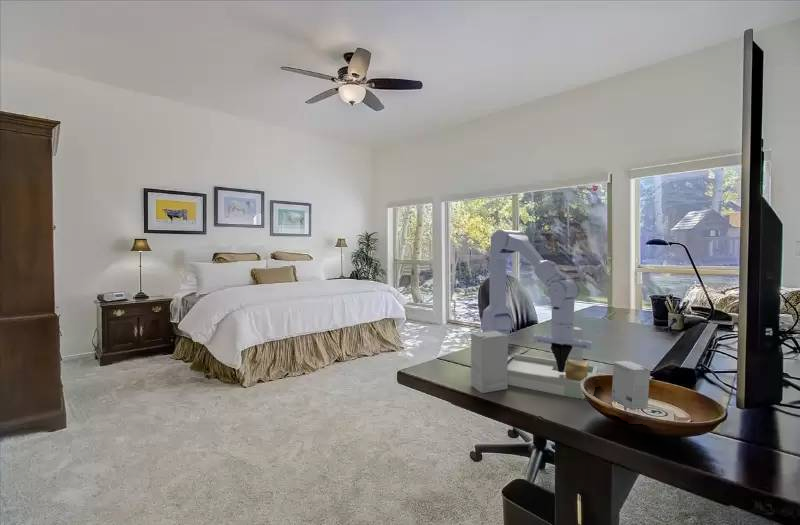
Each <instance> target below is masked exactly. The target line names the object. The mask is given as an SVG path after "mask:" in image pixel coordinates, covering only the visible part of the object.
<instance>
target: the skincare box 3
mask: <svg viewBox="0 0 800 525" xmlns="http://www.w3.org/2000/svg"><path fill="white" fill-rule="evenodd" d="M650 376H651V369H650V368H647V367H645V366H643V365H640V364H638V363H635V362H633V361H630V360H622V361H621V360H619V361H613V369H612V384H611V385H612V386H611V399H610V400H612V401H615V402H617V403H618V404H621V405H623V406H625V407H627V408H629V409H630V410H635V409H647V410H648V404H649V393H650V392H649V388H650Z"/></svg>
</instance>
